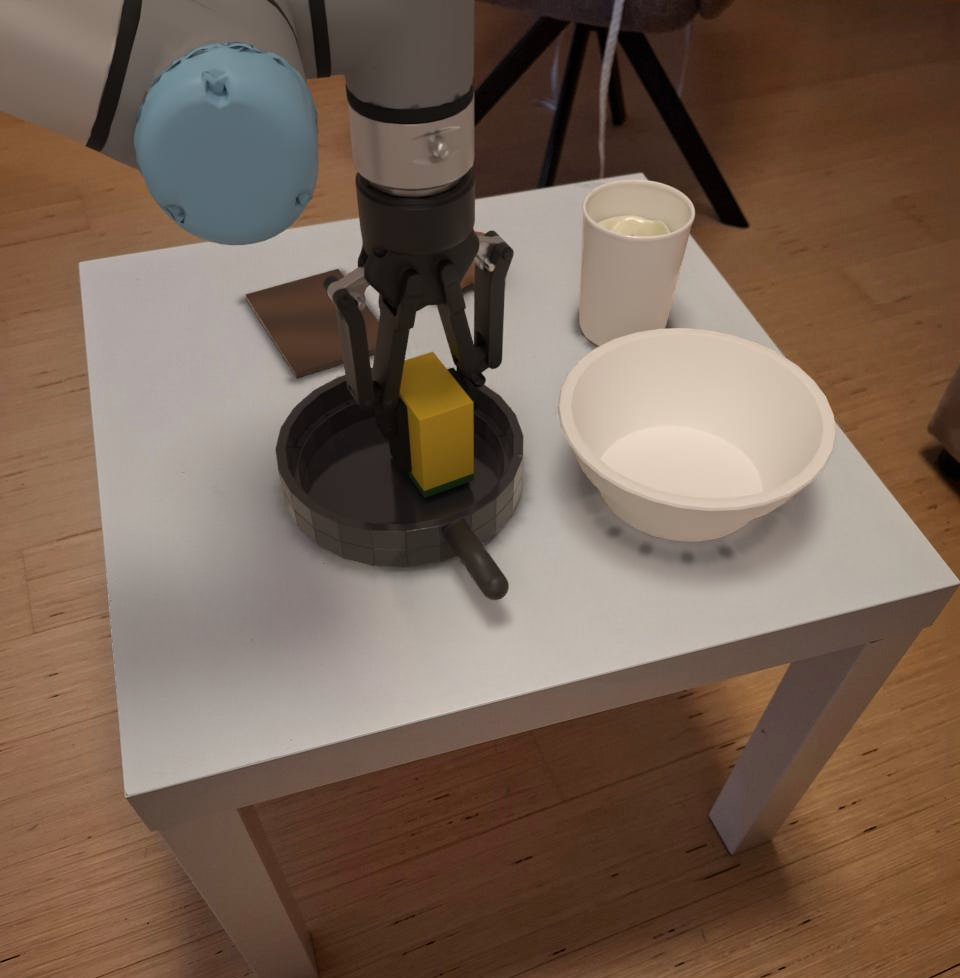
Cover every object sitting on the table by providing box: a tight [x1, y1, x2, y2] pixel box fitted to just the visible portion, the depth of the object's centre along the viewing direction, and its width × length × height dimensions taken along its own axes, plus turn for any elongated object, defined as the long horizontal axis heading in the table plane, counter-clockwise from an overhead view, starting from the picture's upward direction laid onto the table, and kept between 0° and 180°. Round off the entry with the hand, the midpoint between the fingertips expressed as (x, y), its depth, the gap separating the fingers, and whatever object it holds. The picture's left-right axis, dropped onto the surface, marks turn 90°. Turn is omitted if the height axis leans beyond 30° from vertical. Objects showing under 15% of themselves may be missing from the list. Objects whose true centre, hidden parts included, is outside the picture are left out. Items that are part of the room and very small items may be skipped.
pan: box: [275, 367, 524, 568], centre depth 77 cm, size 20×20×4 cm
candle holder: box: [578, 178, 696, 347], centre depth 87 cm, size 10×10×12 cm
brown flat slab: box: [245, 268, 379, 379], centre depth 91 cm, size 14×10×1 cm
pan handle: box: [444, 520, 510, 601], centre depth 69 cm, size 8×2×2 cm, turn 28°
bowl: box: [557, 327, 837, 543], centre depth 75 cm, size 21×21×8 cm
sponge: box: [388, 351, 474, 498], centre depth 75 cm, size 7×4×8 cm, turn 27°
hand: (429, 451), depth 77 cm, fingers closed on sponge, 4 cm apart
